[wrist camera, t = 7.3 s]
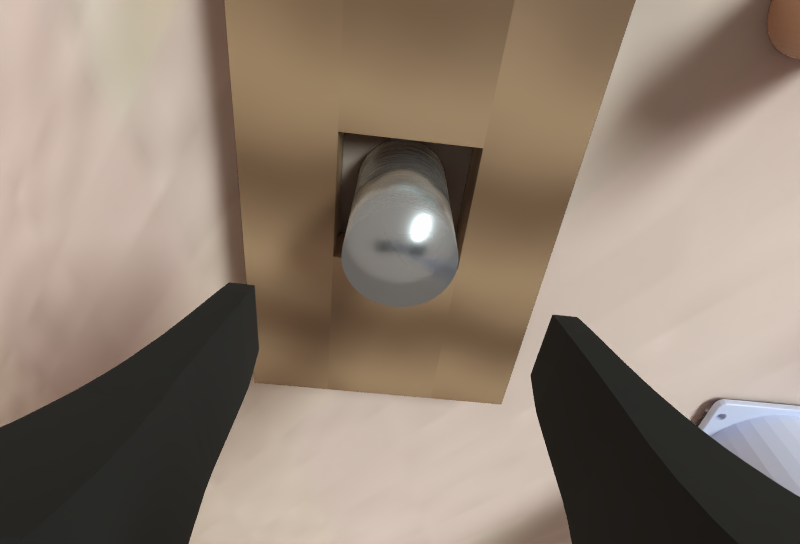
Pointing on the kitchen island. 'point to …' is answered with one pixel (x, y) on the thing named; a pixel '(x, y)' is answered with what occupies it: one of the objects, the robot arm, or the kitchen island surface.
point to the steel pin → (400, 227)
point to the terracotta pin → (785, 26)
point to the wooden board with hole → (421, 121)
